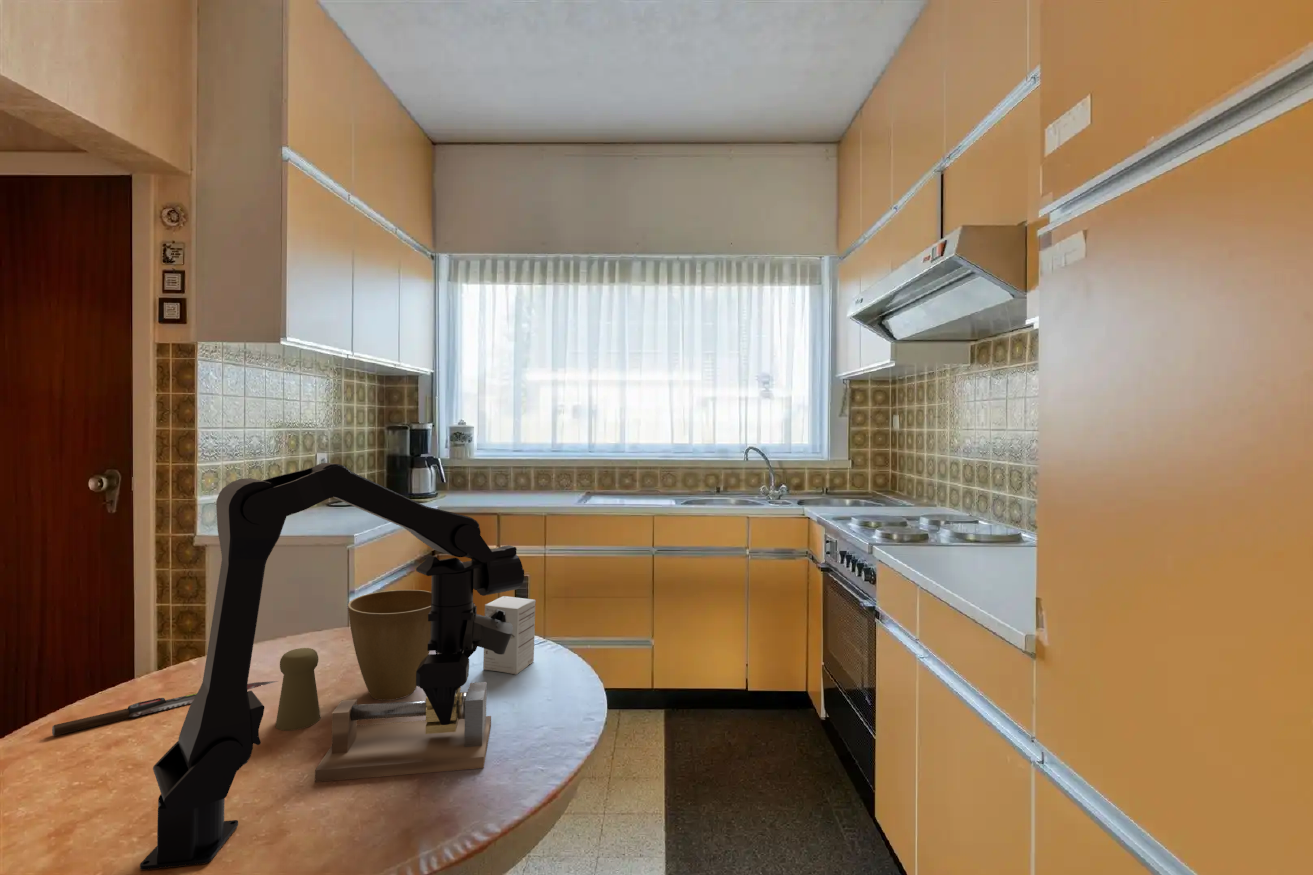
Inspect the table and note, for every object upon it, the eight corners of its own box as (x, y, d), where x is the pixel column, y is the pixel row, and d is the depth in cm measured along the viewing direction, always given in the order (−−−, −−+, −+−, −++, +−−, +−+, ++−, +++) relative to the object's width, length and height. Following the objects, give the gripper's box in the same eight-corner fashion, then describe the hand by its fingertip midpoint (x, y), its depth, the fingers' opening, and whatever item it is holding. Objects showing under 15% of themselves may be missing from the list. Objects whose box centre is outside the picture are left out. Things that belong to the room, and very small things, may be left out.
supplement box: (481, 670, 114) (482, 604, 114) (502, 656, 122) (503, 594, 122) (516, 675, 112) (517, 608, 112) (535, 661, 119) (536, 598, 119)
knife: (288, 676, 109) (53, 730, 86) (286, 686, 109) (52, 742, 87) (283, 669, 110) (52, 720, 88) (282, 678, 111) (51, 731, 89)
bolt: (482, 745, 84) (482, 699, 84) (337, 756, 81) (337, 708, 81) (486, 725, 90) (486, 681, 90) (351, 734, 87) (351, 689, 87)
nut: (455, 731, 84) (456, 696, 84) (425, 733, 83) (426, 697, 83) (460, 715, 89) (460, 681, 89) (431, 717, 88) (432, 683, 88)
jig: (483, 767, 81) (484, 716, 81) (314, 781, 77) (315, 727, 77) (491, 725, 93) (491, 680, 93) (344, 735, 89) (345, 688, 89)
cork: (299, 732, 90) (301, 659, 90) (265, 727, 91) (266, 655, 91) (329, 714, 96) (330, 645, 96) (296, 710, 97) (298, 642, 97)
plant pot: (336, 715, 95) (338, 615, 95) (356, 678, 110) (358, 591, 110) (435, 705, 99) (437, 609, 99) (442, 671, 114) (444, 587, 114)
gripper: (506, 619, 78) (504, 738, 79) (513, 583, 97) (511, 680, 97) (416, 622, 76) (414, 744, 76) (440, 585, 95) (438, 684, 95)
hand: (450, 709), depth 86 cm, fingers open, 8 cm apart
